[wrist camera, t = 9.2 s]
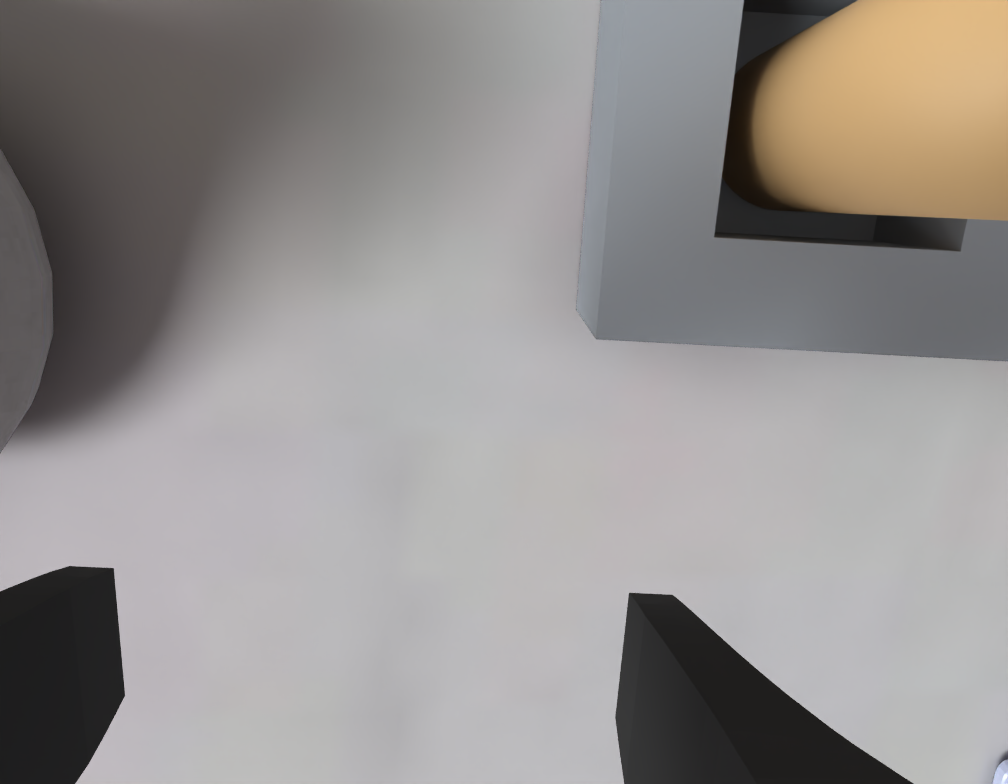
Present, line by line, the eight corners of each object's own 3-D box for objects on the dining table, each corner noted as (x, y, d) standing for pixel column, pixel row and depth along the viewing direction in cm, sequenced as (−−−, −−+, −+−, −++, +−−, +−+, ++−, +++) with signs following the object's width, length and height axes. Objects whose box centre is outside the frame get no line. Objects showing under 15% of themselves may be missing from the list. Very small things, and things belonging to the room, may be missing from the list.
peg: (880, 50, 17) (1351, -133, 7) (852, 214, 18) (1240, 233, 8) (722, 40, 17) (997, -158, 7) (701, 205, 17) (923, 214, 8)
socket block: (1011, -71, 16) (1168, -153, 13) (929, 328, 19) (1041, 363, 15) (608, -97, 16) (642, -189, 12) (575, 309, 19) (595, 339, 15)
